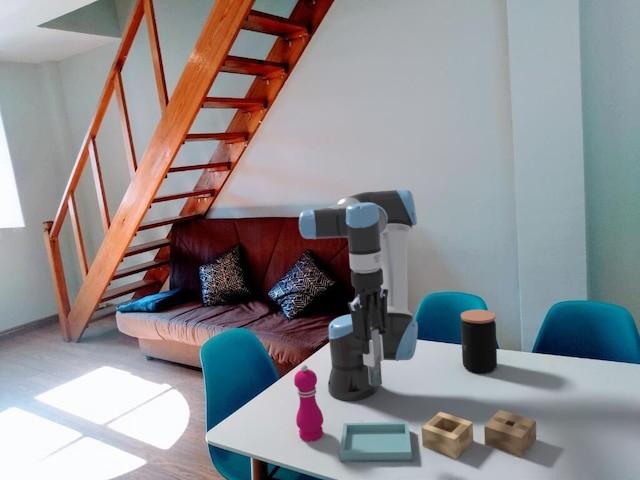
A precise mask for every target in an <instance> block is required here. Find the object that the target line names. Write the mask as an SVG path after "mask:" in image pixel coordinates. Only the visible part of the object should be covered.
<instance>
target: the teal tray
mask: <svg viewBox="0 0 640 480" xmlns="http://www.w3.org/2000/svg"><path fill="white" fill-rule="evenodd" d="M409 425H410V424H409V421H394V422H393V421H391V422H390V421H389V422H387V421H386V422H384V421H383V422H343V425H342V432H341V442H340V446H339V447H340V449H339V460H340V463H379V462H380V463H385V462H386V463H388V462H389V463H391V462H392V463H393V462H394V463H398V462H400V463H401V462H408V463H409V462H413V459H412V457H413V456H412V446H411V436H410V435H411V434H410V427H409Z"/></svg>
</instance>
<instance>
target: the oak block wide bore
mask: <svg viewBox="0 0 640 480" xmlns="http://www.w3.org/2000/svg"><path fill="white" fill-rule="evenodd" d="M421 441H422V442H421V443H422V447H424V448H427V449H430V450H432V451H434V452H437V453H440V454H443V455H445V456H447V457H450V458H451V459H452V458H453V459H454V460H456V459H457V458H459V456H460V455H462V454H463V452H464V451H465V450H466V449H467V448H468V447H469V446H470V445H471V444H472V443H473V442H474V423H473V421H470V420H467V419H464V418H461V417H458V416H455V415H451V414H449V413H445V412H444V411H443V412H442V411H439V412H438V413H436V415H434V416H433V417H432V418H431V419H430V420H429V421H427V422H426V423H425V424H423V426H422V427H421Z"/></svg>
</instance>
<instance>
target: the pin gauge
mask: <svg viewBox="0 0 640 480" xmlns="http://www.w3.org/2000/svg"><path fill="white" fill-rule="evenodd" d="M370 340H373V351H374V364H375V366H374V367H371V366H368V377H369V385H371V386H377V387H379V386H381V385H382V384H383V380H382V379H383V377H382V364H381V362H382V361H380V346H379V331H378V328H377V327H370Z"/></svg>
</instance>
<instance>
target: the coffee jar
mask: <svg viewBox="0 0 640 480" xmlns="http://www.w3.org/2000/svg"><path fill="white" fill-rule="evenodd" d="M460 318H461V321H460V329H461V333H460V334H461V354H462V355H461V357H462V358H461V359H462V365H463V368H465V370H466V371H468V372H470V373H473V374H476V375H477V374H479V375H485V374H490V373H492V372H494V371H495V369H496V368H497V366H498V352H497V323H496V321H495V319H496V314H495V313H494V312H493V311H491V310H485V309H470V310H465V311H463V312H461V314H460Z"/></svg>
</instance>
